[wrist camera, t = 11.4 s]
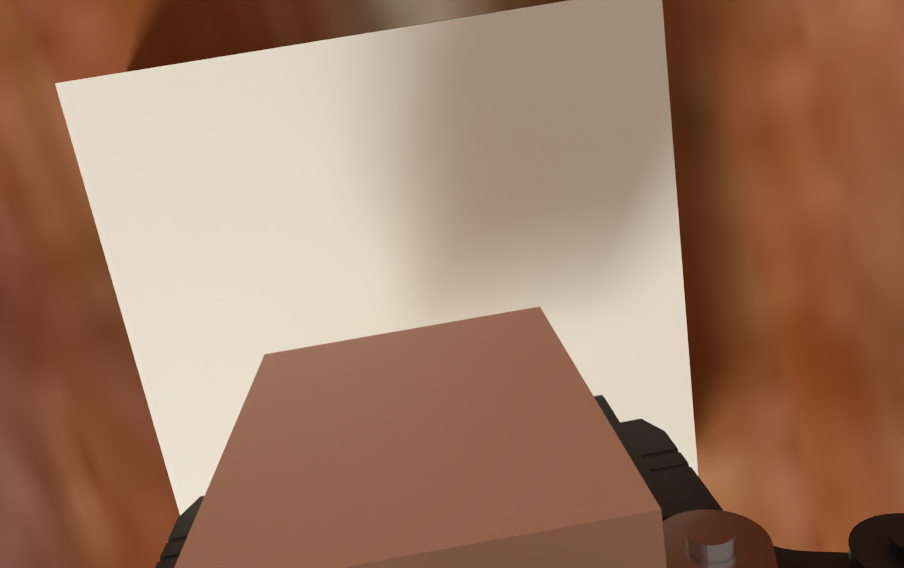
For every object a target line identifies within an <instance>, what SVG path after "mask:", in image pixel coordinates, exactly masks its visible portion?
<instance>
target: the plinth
mask: <svg viewBox="0 0 904 568" xmlns="http://www.w3.org/2000/svg"><path fill="white" fill-rule="evenodd" d="M55 85H56V88H57V92H58V95H59V99H60V102H61V106H62V109H63V113H64V116H65V119H66V123H67V126H68V130H69V133H70V137H71V140H72V144H73V147H74V151H75V154H76V157H77V161H78V164H79V168H80V171H81V175H82V178H83V182H84V185H85V189H86V192H87V195H88V199H89V202H90V206H91V209H92V213H93V216H94V220H95V223H96V226H97V230H98V233H99V237H100V240H101V244H102V247H103V251H104V254H105V258H106V261H107V264H108V268H109V271H110V275H111V278H112V282H113V285H114V289H115V292H116V295H117V299H118V302H119V306H120V309H121V313H122V316H123V320H124V323H125V327H126V330H127V333H128V337H129V340H130V344H131V347H132V351H133V354H134V358H135V361H136V364H137V368H138V371H139V375H140V378H141V382H142V385H143V389H144V392H145V396H146V399H147V402H148V406H149V409H150V413H151V416H152V420H153V423H154V427H155V430H156V434H157V437H158V440H159V444H160V447H161V451H162V454H163V458H164V461H165V465H166V468H167V471H168V475H169V478H170V482H171V485H172V489H173V492H174V496H175V499H176V503H177V506H178V509H179V513H180V515H181V514H182V513H183V512H185V511H186V510H187V509H188V508H189V507H190V506H191V505H192V504H193V503H194V502H195V501H196V500H197V499H198V498H199V497H200V496H205V494H206V491H207V489H208V487H209V484H210V482H211V480H212V477H213V475H214V472H215V470H216V468H217V465H218V463H219V461H220V458H221V456H222V454H223V451H224V449H225V446H226V444H227V442H228V439H229V437H230V435H231V432H232V430H233V428H234V425H235V423H236V421H237V418H238V416H239V413H240V411H241V409H242V406H243V404H244V402H245V399H246V397H247V395H248V392H249V390H250V387H251V385H252V383H253V380H254V378H255V376H256V373H257V371H258V369H259V366H260V364H261V361H262V359H263V357H264V354H269V353H275V352H280V351H286V350H292V349H298V348H303V347H309V346H315V345H321V344H326V343H332V342H338V341H344V340H349V339H355V338H361V337H367V336H372V335H378V334H384V333H390V332H395V331H401V330H407V329H413V328H418V327H424V326H430V325H436V324H442V323H447V322H453V321H459V320H465V319H470V318H476V317H482V316H488V315H493V314H499V313H505V312H511V311H516V310H522V309H528V308H534V307H539V306H540V307H541V309H542V311H543V312H544V314H545V316H546V317H547V319H548V321H549V323H550V324H551V326H552V328H553V329H554V331H555V333H556V334H557V336H558V338H559V339H560V341H561V343H562V344H563V346H564V348H565V349H566V351H567V353H568V354H569V356H570V358H571V359H572V361H573V363H574V364H575V366H576V368H577V369H578V371H579V373H580V374H581V376H582V378H583V379H584V381H585V383H586V384H587V386H588V388H589V389H590V391H591V393H592V394H593V396H597V395H603V396H604V398H605V399H606V401H607V402H608V404H609V406H610V407H611V409H612V410H613V412H614V414H615V415H616V417H617V418H618V420H619V421H620V422H625V421H630V420H636V419H643V420H645V421H647V422H649V423H651V424H652V425H654V426H656V427H658V428H660V429H662V430H664V431H665V432H666V433H667V434H668V436H669V437H670V439H671V440H672V441H673V443H674V444H675V445H676V447H677V448H678V452H681V454H682V455H683V456H684V458H685V459H686V460H687V462H688V464H689V467H692V469H693V470H694V471H695V473H696V474H697V475H698V466H697V453H696V440H695V427H694V413H693V400H692V387H691V374H690V361H689V347H688V334H687V321H686V308H685V295H684V281H683V268H682V255H681V242H680V229H679V215H678V202H677V189H676V176H675V163H674V149H673V136H672V123H671V110H670V97H669V83H668V70H667V57H666V44H665V31H664V17H663V4H662V0H568V1H562V2H556V3H550V4H544V5H538V6H531V7H525V8H519V9H513V10H507V11H500V12H494V13H488V14H482V15H476V16H470V17H463V18H457V19H451V20H445V21H439V22H432V23H426V24H420V25H414V26H408V27H402V28H395V29H389V30H383V31H377V32H371V33H364V34H358V35H352V36H346V37H340V38H333V39H327V40H321V41H315V42H309V43H303V44H296V45H290V46H284V47H278V48H272V49H265V50H259V51H253V52H247V53H241V54H235V55H228V56H222V57H216V58H210V59H204V60H197V61H191V62H185V63H179V64H173V65H167V66H160V67H154V68H148V69H142V70H136V71H129V72H123V73H117V74H111V75H105V76H99V77H92V78H86V79H80V80H74V81H68V82H61V83H55Z"/></svg>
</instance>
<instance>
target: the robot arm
mask: <svg viewBox="0 0 904 568" xmlns="http://www.w3.org/2000/svg"><path fill="white" fill-rule="evenodd" d="M594 398H595V399H596V401H597V403H598V404H599V406H600V408H601V409H602V411H603V413H604V414H605V416H606V418H607V419H608V421H609V423H610V424H611V426H612V428H613V430H614V431H615V433H616V435H617V436H618V438H619V440H620V441H621V443H622V445H623V446H624V448H625V450H626V451H627V453H628V455H629V456H630V458H631V460H632V461H633V463H634V465H635V466H636V468H637V470H638V471H639V473H640V475H641V476H642V478H643V480H644V481H645V483H646V485H647V486H648V488H649V490H650V491H651V493H652V495H653V496H654V498H655V500H656V501H657V503H658V505H659V506H660V508H661V512H662V523H663V533H664V544H665V555H666V566H667V568H904V513H895V514H884V515H879V516H874V517H872V518H869V519H866V520H864V521H862V522H860V523H859V524H858V525H856V526H855V527H854V528H853V530H852V531H851V533H850V536H849V553H840V552H811V551H796V550H789V549H783V548H779V547H775V546H773V543H772V541H771V538H770V536H769V535H768V533H767V532H766V531H765V530H764V529H763V528H762V527H761V526H760V525H758V524H757V523H755V522H754V521H752V520H750V519H748V518H746V517H744V516H741V515H738V514H735V513H731V512H727V511H723V510H722V508H721V507H720V506H719V504H718V503H717V501H716V500H715V499H714V497H713V496H712V495H711V493H710V492H709V490H708V489H707V488H706V486H705V485H704V484H703V482H702V481H701V480H700V478H699V477H698V475H697V474H696V473H695V471H694V470H693V469H692V467H689V464H688V462H687V460H686V459H685V458H684V456H683V455H682V454H681V452H678V448H677V447H676V445H675V444H674V443H673V441H672V440H671V439H670V437H669V436H668V434H667V433H666V432H665V431H664V430H662V429H660V428H658V427H656V426H654V425H652V424H651V423H649V422H647V421H645V420H643V419H636V420H630V421H625V422H620V421H619V420H618V418H617V417H616V415H615V414H614V412H613V410H612V409H611V407H610V406H609V404H608V402H607V401H606V399H605V398H604V396H603V395H597V396H594ZM203 498H204V496H200V497H199V498H198V499H197V500H196V501H195V502H194V503H193V504H192V505H191V506H190V507H189V508H188V509H187V510H186V511H185V512H183V513H182V514H181V515H180V516H179V517H178V519H177V521H176V524H175V526H174V528H173V530H172V532H171V534H170V537H169V539H168V540H169V543H166V545H165V547H164V550H163V552H162V554H161V556H160V562H158V563H157V565H156V567H155V568H174V567H175V565H176V562H177V560H178V558H179V555H180V553H181V550H182V548H183V546H184V543H185V541H186V539H187V536H188V534H189V532H190V529H191V527H192V524H193V522H194V520H195V517H196V515H197V513H198V510H199V508H200V506H201V503H202V501H203Z"/></svg>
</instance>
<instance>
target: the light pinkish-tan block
mask: <svg viewBox="0 0 904 568" xmlns="http://www.w3.org/2000/svg"><path fill="white" fill-rule="evenodd" d="M174 568H667V566H666V555H665V544H664V533H663V523H662V512H661V508H660V506H659V505H658V503H657V501H656V500H655V498H654V496H653V495H652V493H651V491H650V490H649V488H648V486H647V485H646V483H645V481H644V480H643V478H642V476H641V475H640V473H639V471H638V470H637V468H636V466H635V465H634V463H633V461H632V460H631V458H630V456H629V455H628V453H627V451H626V450H625V448H624V446H623V445H622V443H621V441H620V440H619V438H618V436H617V435H616V433H615V431H614V430H613V428H612V426H611V424H610V423H609V421H608V419H607V418H606V416H605V414H604V413H603V411H602V409H601V408H600V406H599V404H598V403H597V401H596V399H595V398H594V396H593V394H592V393H591V391H590V389H589V388H588V386H587V384H586V383H585V381H584V379H583V378H582V376H581V374H580V373H579V371H578V369H577V368H576V366H575V364H574V363H573V361H572V359H571V358H570V356H569V354H568V353H567V351H566V349H565V348H564V346H563V344H562V343H561V341H560V339H559V338H558V336H557V334H556V333H555V331H554V329H553V328H552V326H551V324H550V323H549V321H548V319H547V317H546V316H545V314H544V312H543V311H542V309H541V307H540V306H539V307H534V308H528V309H522V310H516V311H511V312H505V313H499V314H493V315H488V316H482V317H476V318H470V319H465V320H459V321H453V322H447V323H442V324H436V325H430V326H424V327H418V328H413V329H407V330H401V331H395V332H390V333H384V334H378V335H372V336H367V337H361V338H355V339H349V340H344V341H338V342H332V343H326V344H321V345H315V346H309V347H303V348H298V349H292V350H286V351H280V352H275V353H269V354H264V357H263V359H262V361H261V364H260V366H259V369H258V371H257V373H256V376H255V378H254V380H253V383H252V385H251V387H250V390H249V392H248V395H247V397H246V399H245V402H244V404H243V406H242V409H241V411H240V413H239V416H238V418H237V421H236V423H235V425H234V428H233V430H232V432H231V435H230V437H229V439H228V442H227V444H226V446H225V449H224V451H223V454H222V456H221V458H220V461H219V463H218V465H217V468H216V470H215V472H214V475H213V477H212V480H211V482H210V484H209V487H208V489H207V491H206V494H205V496H204V498H203V501H202V503H201V506H200V508H199V510H198V513H197V515H196V517H195V520H194V522H193V524H192V527H191V529H190V532H189V534H188V536H187V539H186V541H185V543H184V546H183V548H182V550H181V553H180V555H179V558H178V560H177V562H176V565H175V567H174Z"/></svg>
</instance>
